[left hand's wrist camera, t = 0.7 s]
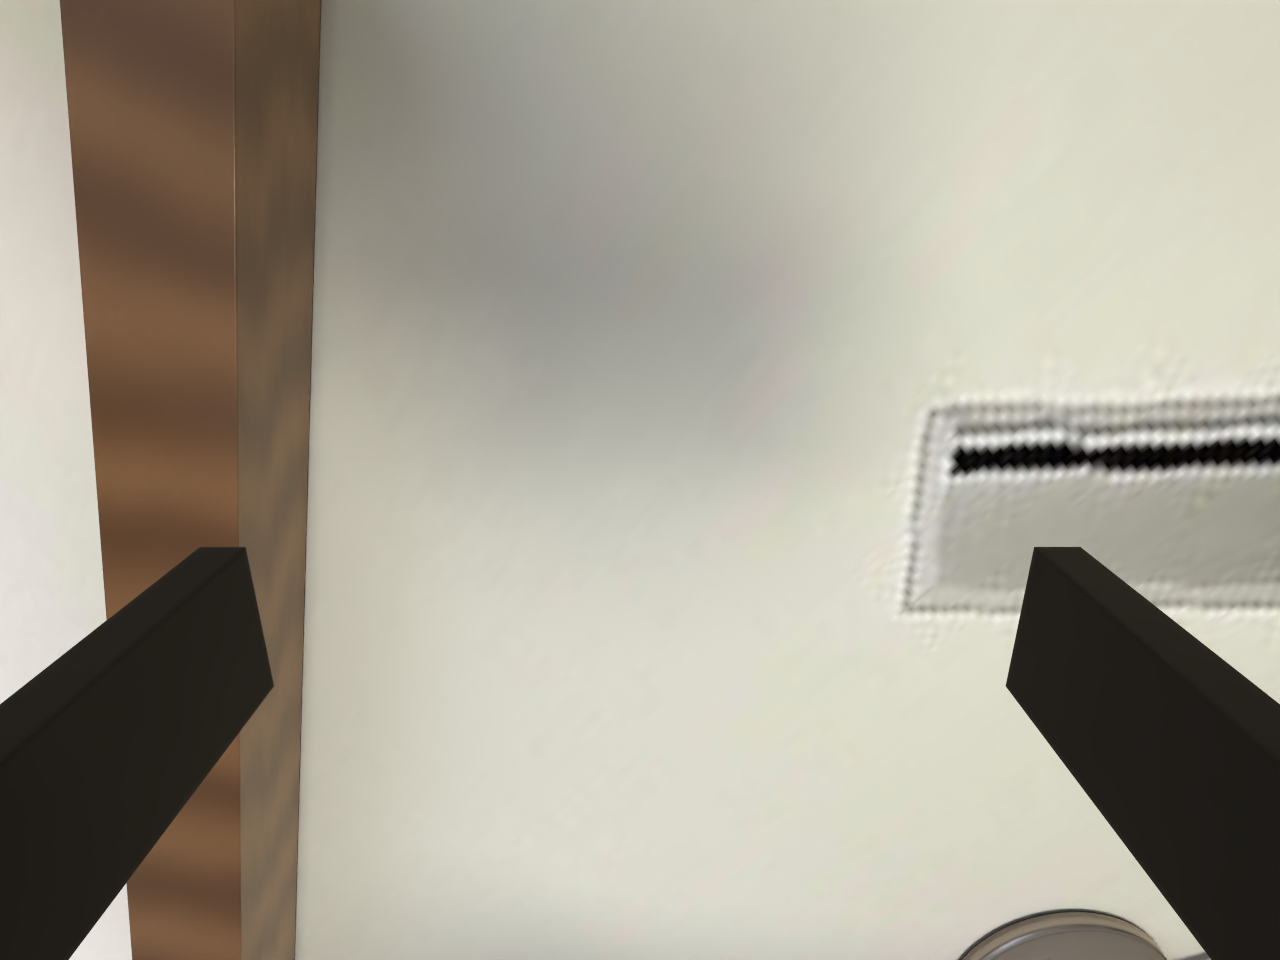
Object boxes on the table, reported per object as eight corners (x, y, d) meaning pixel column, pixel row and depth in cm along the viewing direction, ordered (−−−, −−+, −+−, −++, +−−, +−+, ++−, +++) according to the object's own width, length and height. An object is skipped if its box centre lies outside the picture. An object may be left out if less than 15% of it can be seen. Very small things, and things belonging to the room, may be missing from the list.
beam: (177, -102, 31) (44, -191, 24) (323, -72, 31) (233, -151, 24) (208, 1002, 53) (144, 1121, 46) (293, 1012, 53) (242, 1131, 46)
